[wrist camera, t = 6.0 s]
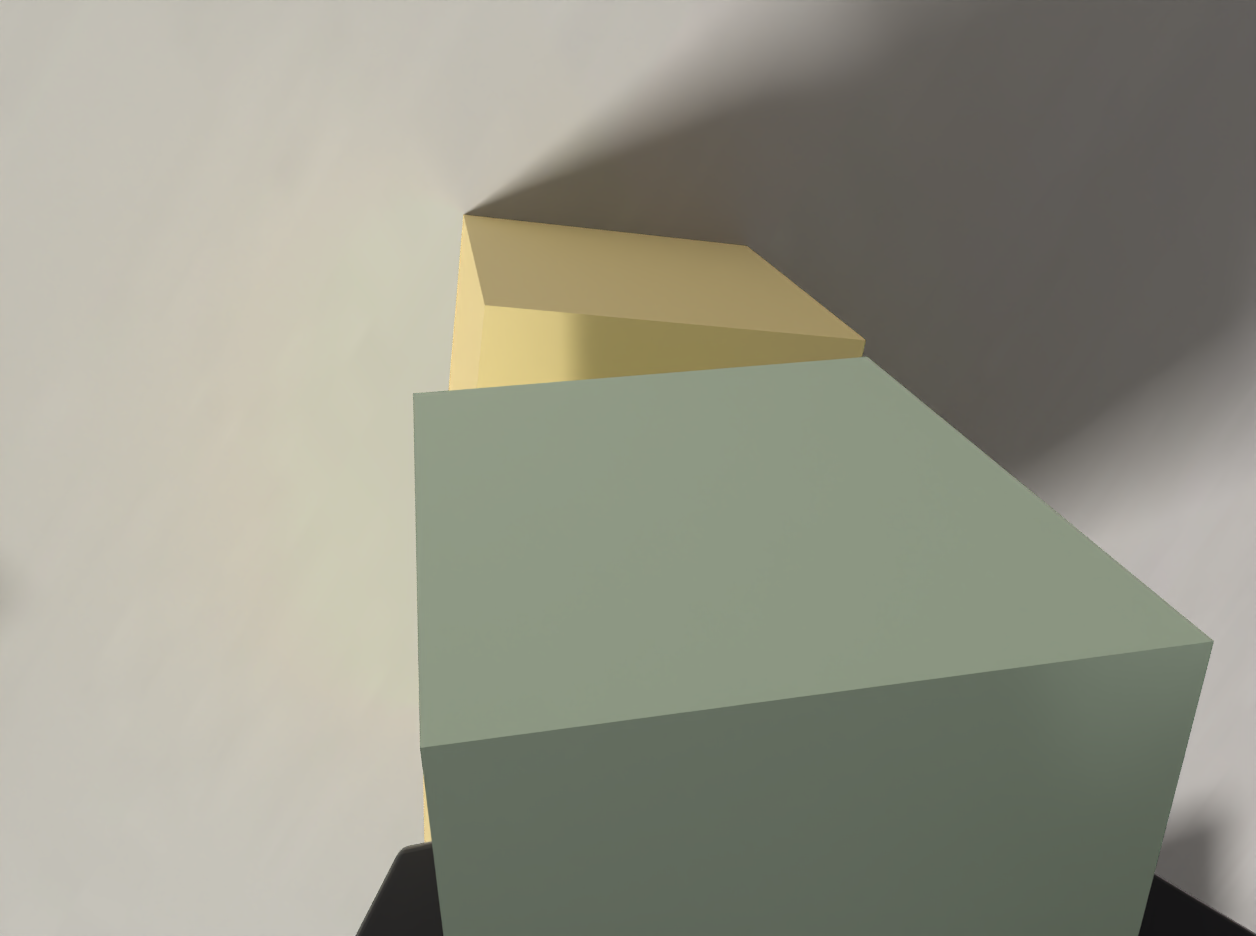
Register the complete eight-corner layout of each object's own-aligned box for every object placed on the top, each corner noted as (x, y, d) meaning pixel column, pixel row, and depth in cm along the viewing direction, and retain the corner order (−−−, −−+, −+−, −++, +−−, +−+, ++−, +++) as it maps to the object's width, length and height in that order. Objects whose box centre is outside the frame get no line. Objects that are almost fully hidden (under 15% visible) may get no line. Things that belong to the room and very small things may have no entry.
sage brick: (815, 985, 11) (1006, 1451, 8) (483, 1045, 11) (523, 1579, 7) (868, 356, 8) (1214, 640, 5) (412, 392, 8) (419, 747, 4)
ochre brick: (657, 701, 16) (728, 909, 13) (421, 700, 15) (426, 920, 12) (743, 242, 13) (865, 339, 10) (462, 212, 13) (484, 304, 9)
